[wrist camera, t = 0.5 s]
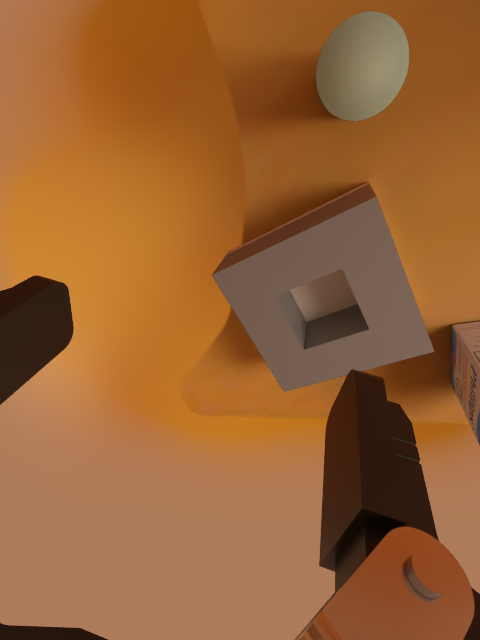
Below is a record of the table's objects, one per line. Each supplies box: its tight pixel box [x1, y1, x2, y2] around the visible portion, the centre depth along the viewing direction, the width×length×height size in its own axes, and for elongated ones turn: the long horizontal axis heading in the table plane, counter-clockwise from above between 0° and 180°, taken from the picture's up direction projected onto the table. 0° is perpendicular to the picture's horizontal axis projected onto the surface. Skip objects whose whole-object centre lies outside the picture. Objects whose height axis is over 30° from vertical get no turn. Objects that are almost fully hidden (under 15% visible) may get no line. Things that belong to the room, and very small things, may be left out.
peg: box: [316, 11, 409, 121], centre depth 20 cm, size 4×4×12 cm
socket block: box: [212, 182, 435, 392], centre depth 31 cm, size 14×14×6 cm
